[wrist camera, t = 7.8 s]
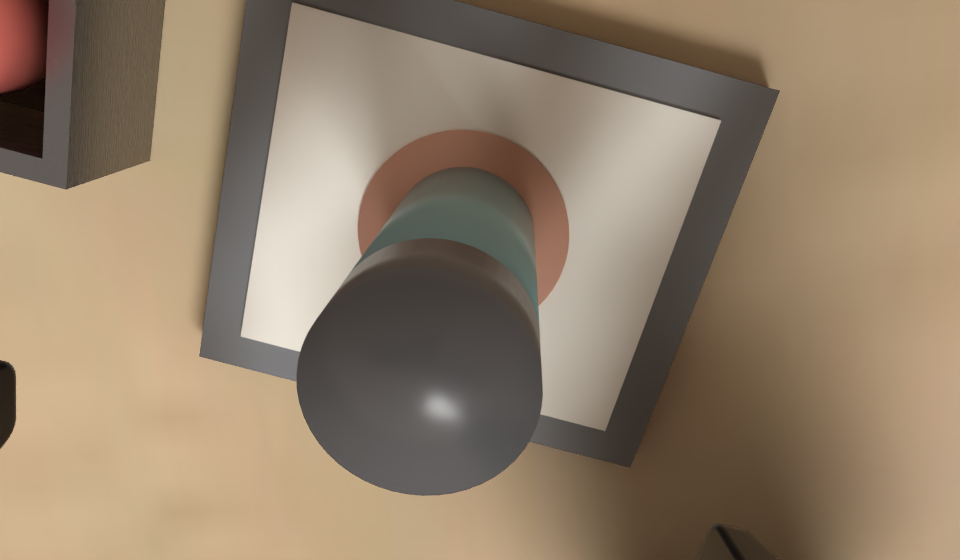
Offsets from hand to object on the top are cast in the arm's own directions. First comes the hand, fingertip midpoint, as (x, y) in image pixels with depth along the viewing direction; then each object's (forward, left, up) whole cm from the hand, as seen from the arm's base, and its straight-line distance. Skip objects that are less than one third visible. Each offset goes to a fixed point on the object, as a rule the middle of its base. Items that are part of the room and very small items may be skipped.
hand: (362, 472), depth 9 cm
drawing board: (0, 0, -13) cm, 13 cm away
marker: (0, 0, -12) cm, 12 cm away
